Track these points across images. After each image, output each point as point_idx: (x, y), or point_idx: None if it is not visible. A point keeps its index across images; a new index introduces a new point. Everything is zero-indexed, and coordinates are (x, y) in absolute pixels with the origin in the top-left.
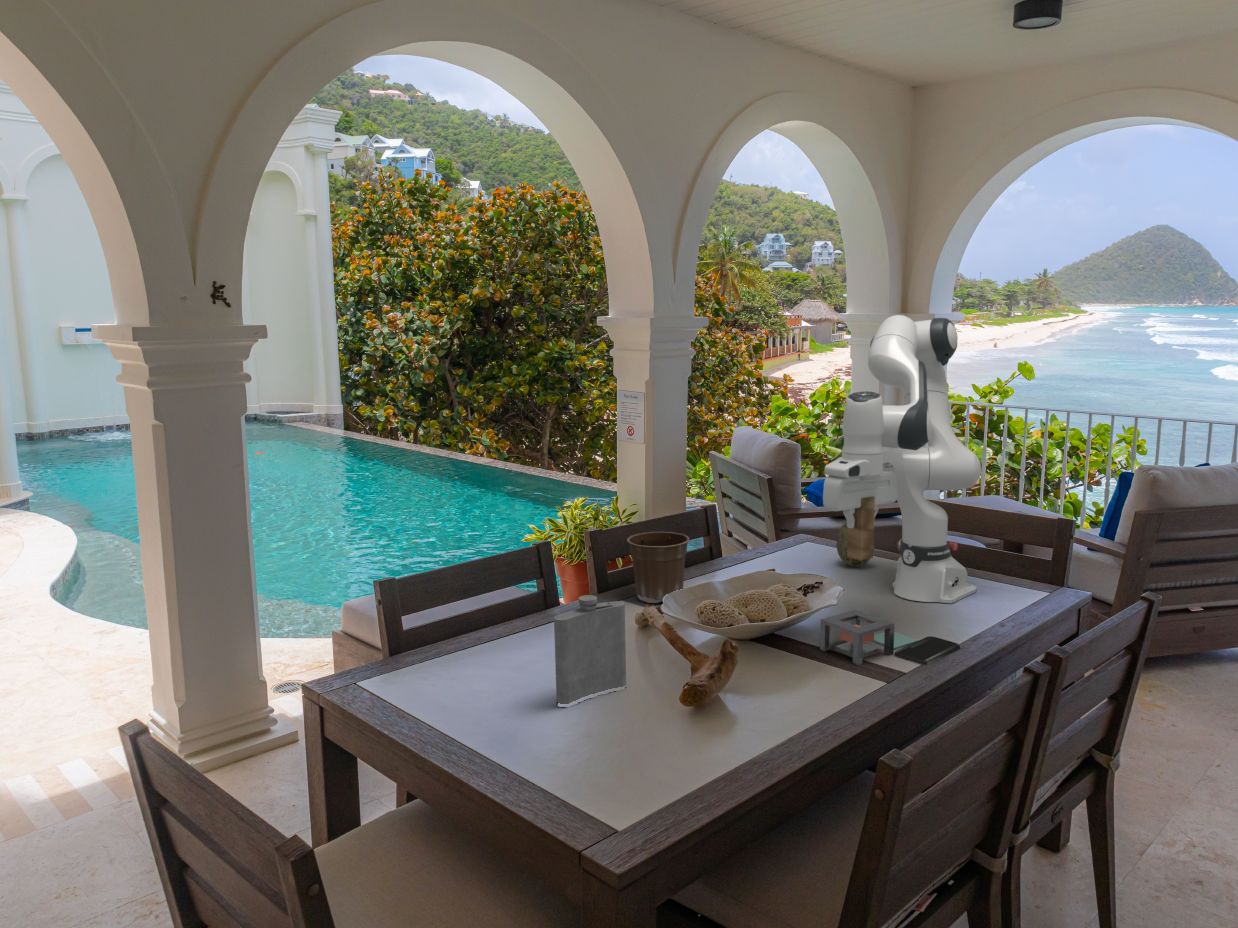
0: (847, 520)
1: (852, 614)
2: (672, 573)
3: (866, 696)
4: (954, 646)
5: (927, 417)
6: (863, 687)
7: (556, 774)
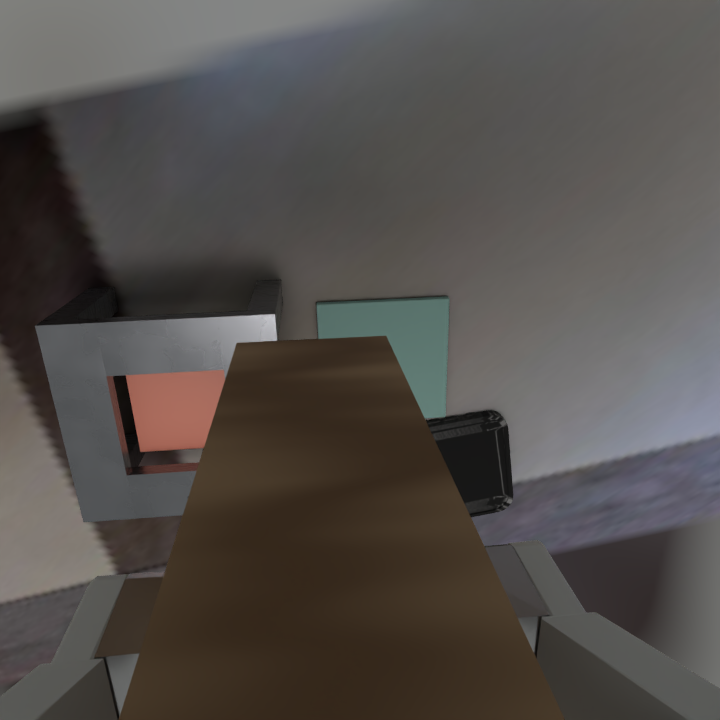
0: (60, 659)
1: (214, 353)
2: None
3: (3, 607)
4: (486, 503)
5: None
6: (32, 567)
7: None
